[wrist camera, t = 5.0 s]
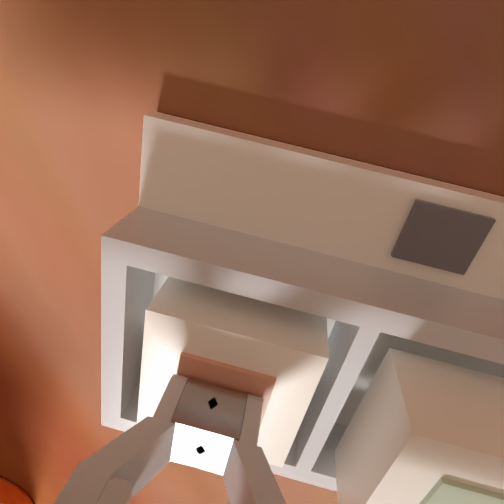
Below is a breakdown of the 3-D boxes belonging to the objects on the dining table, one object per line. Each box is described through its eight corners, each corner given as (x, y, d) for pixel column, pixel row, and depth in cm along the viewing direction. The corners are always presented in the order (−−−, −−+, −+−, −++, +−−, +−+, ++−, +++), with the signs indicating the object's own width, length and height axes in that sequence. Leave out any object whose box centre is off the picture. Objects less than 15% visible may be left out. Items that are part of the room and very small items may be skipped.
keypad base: (897, 292, 11) (1127, 380, 8) (584, 528, 18) (640, 623, 15) (156, 111, 12) (101, 125, 9) (135, 403, 19) (101, 468, 16)
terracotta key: (325, 299, 13) (329, 362, 10) (287, 399, 15) (282, 472, 13) (179, 260, 13) (143, 312, 10) (166, 366, 16) (134, 430, 13)
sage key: (564, 394, 11) (650, 504, 8) (475, 489, 14) (516, 598, 11) (389, 347, 11) (414, 439, 8) (334, 451, 14) (340, 547, 11)
